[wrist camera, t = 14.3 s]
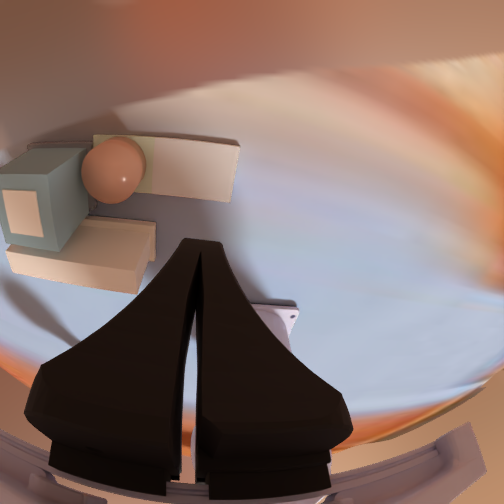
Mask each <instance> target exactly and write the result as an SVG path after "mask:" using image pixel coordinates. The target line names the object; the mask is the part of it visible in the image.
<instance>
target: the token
mask: <svg viewBox="0 0 504 504" xmlns="http://www.w3.org/2000/svg"><path fill="white" fill-rule="evenodd" d="M145 172H146V158H145V155H144V152H143V150H142V149H141V147H140V146H139V145H138V144H137V143H136V142H135V141H133V140H131V139H129V138H127V137H122V136H116V137H111V138H109V139H107V140H105V141H104V142H102V143H101V144H99V145H97V146H96V147H94V148H93V149H92V150H90V151H89V152H88V154H87V155H86V156H85V158H84V160H83V163H82V168H81V176H82V181H83V184H84V186H85V188H86V190H87V191H88V192H89V194H90V195H91V196H93V197H94V198H95V199H97V200H98V201H100V202H103V203H107V204H116V203H120V202H122V201H124V200H126V199H127V198H129V197H130V196H131V195H132V193H133V192H134V191H135V189H136V188H137V186H138V185H139V183H140V182H141V181H142V179H143V177H144V175H145Z"/></svg>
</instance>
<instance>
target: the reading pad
mask: <svg viewBox="0 0 504 504" xmlns="http://www.w3.org/2000/svg"><path fill="white" fill-rule="evenodd" d="M35 148H86V155H87V154H88V152H89V151H90V150H92V149H93V141H73V142H43V143H31V144H29V145H27V149H28V151H29V150H31V149H35ZM87 192H88V191H87ZM88 206H89V209H93V210H94V209H95V208H96V206H97V200H96V199H95V198H94V197H93V196H91V195H90V194H89V192H88Z"/></svg>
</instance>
